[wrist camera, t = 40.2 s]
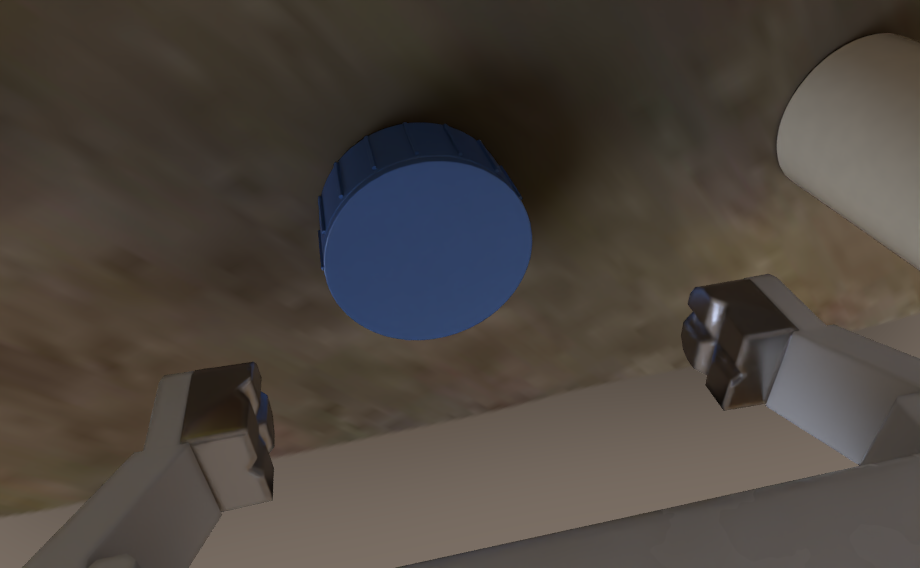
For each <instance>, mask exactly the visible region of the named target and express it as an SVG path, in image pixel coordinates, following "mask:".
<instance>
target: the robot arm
mask: <svg viewBox="0 0 920 568" xmlns="http://www.w3.org/2000/svg"><path fill="white" fill-rule="evenodd" d="M688 305H689V307H690V308H691V309H692V311H693V312H692V313H691V314H690V315H689V317H688V318H687V319H686V320H685V321H684V322H683V327H682V333H681V339H682V346H683V350H684V353H685V355H686V357H687V359H688V361H689V362H690V364H691V365H692V367H693V368H694V369H696V370H698V371H699V372H701V373H703V374H705V375H707V379H706V387H707V388H708V389H709V390H710V392H711V394H712V395H713V396H714V398H715V399H716V400H717V402H718V403H719V405H720V406H721V408H722V409H723V410H724V411H726V410H731V409H737V408H743V407H749V406H754V405H761V404H766V406H767V407H768V408H770V409H772V410H773V411H775V412H776V413H778V414H779V415H781V416H783V417H784V418H786V419H787V420H789V421H790V422H792V423H793V424H795V425H797V426H798V427H800V428H801V429H803V430H804V431H806V432H808V433H809V434H811V435H812V436H814V437H815V438H817V439H819V440H820V441H822V442H823V443H825V444H826V445H828V446H830V447H831V448H833V449H834V450H836V451H837V452H839V453H841V454H842V455H844V456H845V457H847V458H848V459H850V460H852V461H853V462H855V463H857V464H858V465H859V466H857V467H853V468H848V469H844V470H839V471H835V472H830V473H825V474H821V475H816V476H812V477H807V478H802V479H798V480H793V481H789V482H785V483H780V484H775V485H771V486H766V487H762V488H758V489H752V490H748V491H743V492H739V493H734V494H730V495H725V496H721V497H716V498H712V499H707V500H703V501H698V502H693V503H689V504H684V505H680V506H676V507H671V508H667V509H662V510H657V511H653V512H648V513H644V514H639V515H635V516H630V517H626V518H621V519H616V520H612V521H607V522H603V523H598V524H594V525H589V526H584V527H579V528H575V529H570V530H566V531H561V532H557V533H552V534H548V535H543V536H538V537H534V538H529V539H525V540H520V541H516V542H511V543H506V544H502V545H498V546H492V547H488V548H483V549H479V550H474V551H470V552H466V553H460V554H456V555H452V556H447V557H442V558H438V559H433V560H429V561H424V562H420V563H415V564H411V565H406V566H402V567H397V568H920V359H919V358H917V357H914V356H911V355H909V354H906V353H904V352H901V351H899V350H896V349H894V348H891V347H889V346H886V345H883V344H881V343H879V342H876V341H874V340H871V339H869V338H866V337H864V336H861V335H859V334H856V333H854V332H851V331H849V330H846V329H844V328H841V327H839V326H836V325H829V326H826V325H825V324H824V323H823V322H822V321H821V320H820V319H819V318H818V317H817V316H816V315H815V314H814V313H813V312H812V311H811V310H810V309H809V308H808V307H807V306H806V305H805V304H804V303H803V302H802V301H801V300H800V299H798V298H797V297H796V296H795V295H794V294H793V293H792V292H791V291H790V290H789V289H788V288H787V287H786V286H785V285H784V284H783V283H782V282H781V281H780V280H779V279H778V278H777V277H775V276H773V275H771V274H765V275H759V276H754V277H749V278H744V279H740V280H734V281H728V282H723V283H717V284H711V285H706V286H700V287H695V288H694V289H693V291H692V292H691V293H690V297H689V301H688ZM261 378H262V377H261V375H260V372H259V369H258V366H257V364H256V363H255V362H249V363H242V364H235V365H228V366H221V367H214V368H207V369H201V370H195V371H191V372H184V373H177V374H170V375H164V377H163V378H162V379H161V381H160V382H159V385H158V390H157V394H156V398H155V403H154V407H153V411H152V415H151V420H150V424H149V428H148V432H147V437H146V441H145V445H144V450H143V451H141V452H136V453H133V454H132V455H131V456H130V457H129V458H128V459H127V460H126V461H125V462H124V464H123V465H122V466H121V467H120V468H119V469H118V470H117V471H116V472H115V473H114V474H113V475H112V476H111V477H110V478H109V479H108V480H107V481H106V482H105V483H104V484H103V485H102V486H101V487H100V488H99V489H98V490H97V491H96V492H95V493H94V494H93V495H92V496H91V497H90V498H89V499H88V500H87V501H86V502H85V504H84V505H83V506H82V507H81V508H80V509H79V510H78V511H77V512H76V513H75V514H74V515H73V516H72V517H71V518H70V519H69V520H68V521H67V522H66V523H65V524H64V525H63V526H62V527H61V528H60V529H59V530H58V531H57V532H56V533H55V534H54V535H53V536H52V537H51V538H50V539H49V541H47V543H46V544H45V545H44V546H43V547H42V548H41V549H40V550H39V551H38V552H37V553H36V554H35V555H34V556H33V557H32V558H31V559H30V560H29V561H28V562H27V563H26V564H25V565H24V566H23V567H22V568H189V566H190V565H191V563H192V561H193V560H194V558H195V557H196V555H197V554H198V552H199V550H200V548H201V547H202V546H203V544H204V543H205V541H206V539H207V538H208V536H209V535H210V533H211V532H212V530H213V528H214V527H215V525H216V523H217V522H218V521H219V519H220V517H221V516H222V514H221V512H224V511H228V510H233V509H237V508H242V507H246V506H250V505H255V504H259V503H264V502H268V501H272V500H273V476H274V467H273V464H272V461H271V458H270V455H269V453H270V452H271V451H272V449H273V448H274V436H275V433H274V423H273V415H272V410H271V406H270V402H269V399H268V396H267V395H266V394H264V393H263V392H261Z"/></svg>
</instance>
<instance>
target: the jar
mask: <svg viewBox="0 0 920 568" xmlns="http://www.w3.org/2000/svg"><path fill="white" fill-rule="evenodd" d="M776 149H777V157H778V161H779V165H780V167H781V169H782V171H783V173H784V174H785V175H786V177H787V178H788V179H789V180H790V181H792V182H793V183H794V184H796V185H797V186H799V187H800V188H801V189H803V190H804V191H806V192H807V193H809V194H810V195H811V196H813V197H814V198H816V199H817V200H819V201H820V202H821V203H823V204H824V205H826V206H827V207H829V208H830V209H831V210H833V211H834V212H836V213H837V214H839V215H840V216H841V217H843V218H844V219H846V220H847V221H849V222H850V223H852V224H853V225H854V226H856V227H857V228H859V229H860V230H862V231H863V232H864V233H866V234H867V235H869V236H870V237H872V238H873V239H874V240H876V241H877V242H879V243H880V244H882V245H883V246H884V247H886V248H887V249H889V250H890V251H892V252H893V253H894V254H896V255H897V256H899V257H900V258H902V259H903V260H904V261H906V262H907V263H909V264H910V265H912V266H913V267H914V268H916V269H917V270H919V271H920V41H917V40H914V39H911V38H908V37H905V36H902V35H898V34H892V33H882V34H874V35H870V36H865V37H863V38H860V39H857V40H855V41H853V42H850V43H848V44H846V45H844V46H843V47H841V48H840V49H838V50H836V51H835V52H833V53H832V54H831V55H829V56H828V57H827V58H825V59H824V60H823V61H822V62H821V63H820V64H819V65H818V66H816V67H815V68H814V69H813V70H812V72H811V73H810V74H809V75H808V76H807V77H806V78H805V79H804V81H803V82H802V83H801V84H800V86H799V87H798V88H797V90H796V92H795V93H794V95H793V96H792V98H791V100H790V101H789V103H788V105H787V107H786V109H785V112H784V114H783V116H782V119H781V122H780V126H779V129H778V135H777V145H776Z"/></svg>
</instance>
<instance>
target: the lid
mask: <svg viewBox="0 0 920 568" xmlns="http://www.w3.org/2000/svg"><path fill="white" fill-rule="evenodd" d="M522 199H523V198H522V196H521V195H520V193H519V192H518V190H517V188H516V187H515V185H514V184H513V182H512V181H511V179H510V178H509V176H508V175H507V173H506V171H505V170H504V168H503V167H502V166H500V167H499V165H498V164H497V162H496V161H495V159H494V158H493V157H492V155H491V154H490V152H489V151H488V150H487V149H486V148H485V146H484V145H483V143H482V142H481V140H479V139H478V140H475V139H474V138H473V137H471V136H469V135H467V134H466V133H464V132H462V131H459V130H457V129H454V128H452V127H449V126H448V125H447V124H444V125H440V124H434V123H407V122H403V124H400V125H396V126H392V127H389V128H385V129H383V130H380V131H378V132H376V133H373V134H371V135H370V136H367V135H366V136H365V137H364V139H363V140H361V141H360V142H358V143H357V144H356V145H354V146H353V147H352V148H350V149H349V150H348V151H347V152H346V153H345V154H344V155H343V156H342V157H341V158H340V160H339V161H338V162H335V163H334V168H333V169H332V171H331V173H330V174H329V176H328V178H327V180H326V183H325V185H324V188H323V190H322V195H321V196H318V204H319V220H320V230H319V231H318V237H319V248H320V259H321V269H322V270H324V273H325V277H326V281H327V284H328V287H329V289H330V292H331V294H332V296H333V297H334V299H335V300H336V302H337V304H338V305H339V306H340V307H341V308H342V310H343V311H344V312H345V313H346V314H347V315H348V316H349V317H351V318H352V319H353V320H354V321H355V322H357V323H358V324H360V325H361V326H363V327H365V328H367V329H369V330H371V331H373V332H375V333H378V334H381V335H384V336H387V337H392V338H396V339H405V340H428V339H436V338H441V337H446V336H449V335H453V334H456V333H459V332H461V331H464V330H466V329H469V328H471V327H473V326H474V325H476V324H478V323H480V322H482V321H483V320H485V319H486V318H488V317H489V316H491V315H492V314H493V313H494V312H496V311H497V310H498V309H499V308H500V307H501V306H502V305H503V304H504V303H505V302H506V301H507V300H508V299H509V298H510V297H511V295H512V294H513V293H514V291H515V290H516V289H517V287H518V285H519V284H520V282H521V280H522V279H523V276H524V274H525V272H526V270H527V267H528V263H529V260H530V256H531V249H532V231H531V224H530V220H529V217H528V214H527V211H526V209H525V207H524V205H523V203H522V201H521V200H522Z"/></svg>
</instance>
